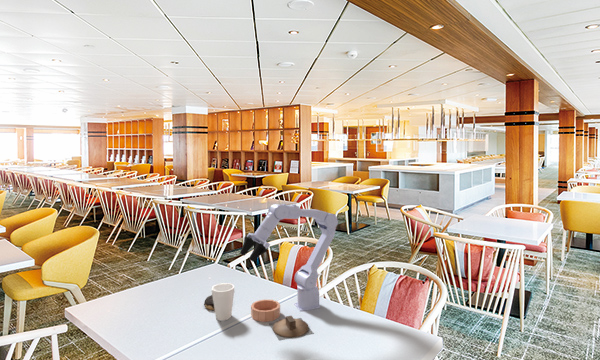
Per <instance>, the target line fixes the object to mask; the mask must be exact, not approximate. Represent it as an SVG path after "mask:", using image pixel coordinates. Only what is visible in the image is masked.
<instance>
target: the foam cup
mask: <svg viewBox="0 0 600 360" xmlns="http://www.w3.org/2000/svg"><path fill="white" fill-rule="evenodd" d="M234 294H235V285H234V284H233V283H228V282H227V283H226V282H225V283H217V284H214V285H212V287H211V295H212V296H213V302H214V309H215V310H214V313H215V315H214V316H215V318H216V320H218V321H220V322H221V321H223V322H224V321H228V319H230V318H231V317H232V313H233V312H232V311H233V305H234V298H235V297H234V296H235V295H234Z"/></svg>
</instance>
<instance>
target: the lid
mask: <svg viewBox="0 0 600 360" xmlns="http://www.w3.org/2000/svg"><path fill="white" fill-rule="evenodd" d="M274 323H275V322H274ZM308 327H309V324H308V323H307V322H306V321H305V320H303V319H302V320H300V319H297V318H294V316H292V315H288V316H287V315H286V316H285V318H282V319H279V320H277V321H276V323H275V324H274V325H273V330H272V332H273V331H274V332H273V334H274V335H275V334H277V335H279V336H282V337H294V338H298V336H300V337H302V336H301V335H304V334H305V333H306V332H307V331H308Z"/></svg>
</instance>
